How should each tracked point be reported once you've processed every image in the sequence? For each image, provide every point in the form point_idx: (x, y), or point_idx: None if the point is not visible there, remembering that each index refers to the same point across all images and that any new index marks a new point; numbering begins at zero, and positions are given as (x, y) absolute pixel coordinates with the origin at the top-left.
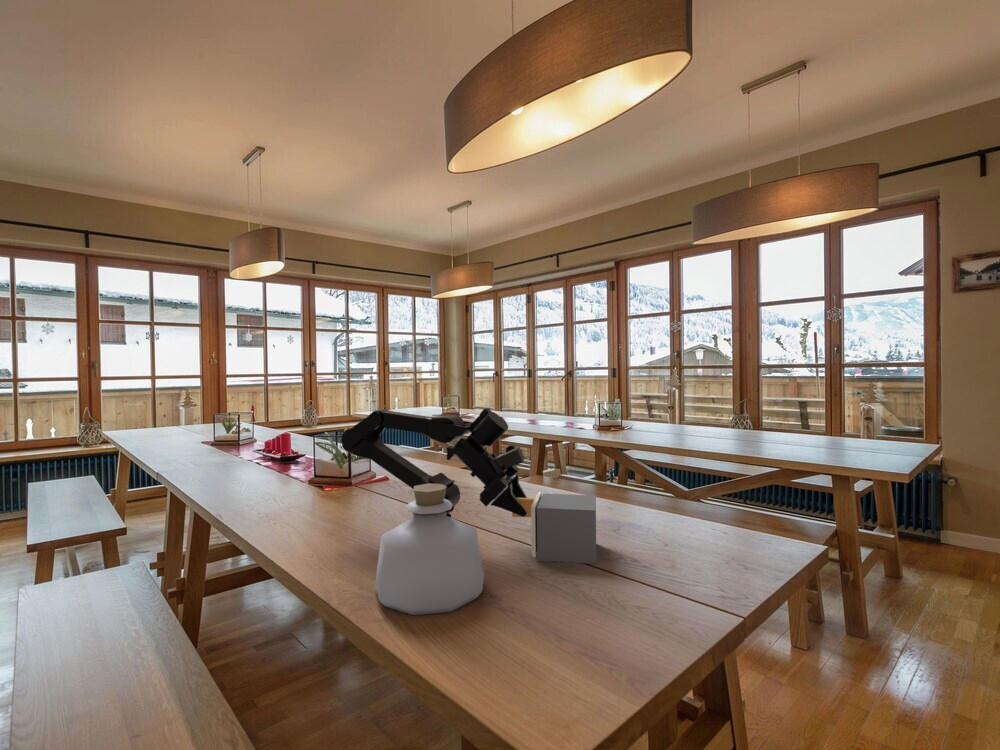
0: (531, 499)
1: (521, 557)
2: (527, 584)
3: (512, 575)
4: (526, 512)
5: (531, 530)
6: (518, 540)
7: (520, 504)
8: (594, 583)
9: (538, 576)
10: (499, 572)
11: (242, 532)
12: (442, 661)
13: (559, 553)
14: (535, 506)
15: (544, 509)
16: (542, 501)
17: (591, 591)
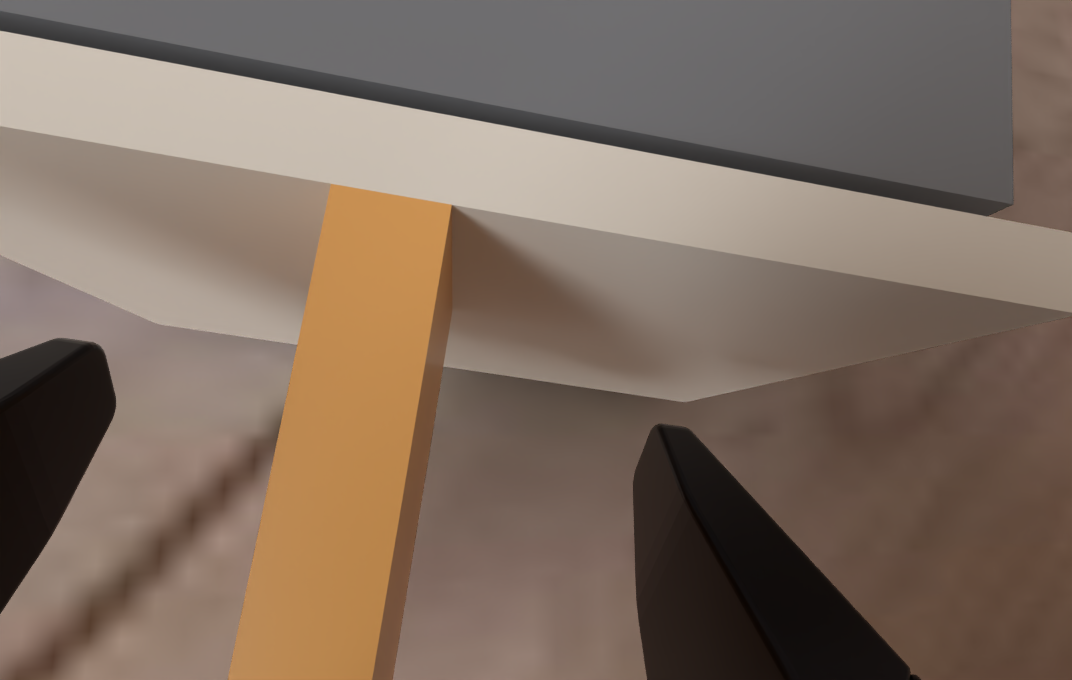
0: (433, 282)
1: (600, 488)
2: (1048, 437)
3: (934, 546)
4: (670, 428)
5: (800, 374)
6: (168, 530)
7: (773, 567)
8: None
9: (925, 362)
10: (897, 651)
11: None
12: None
13: None
14: (954, 221)
15: (993, 76)
16: (512, 47)
17: (1068, 79)
